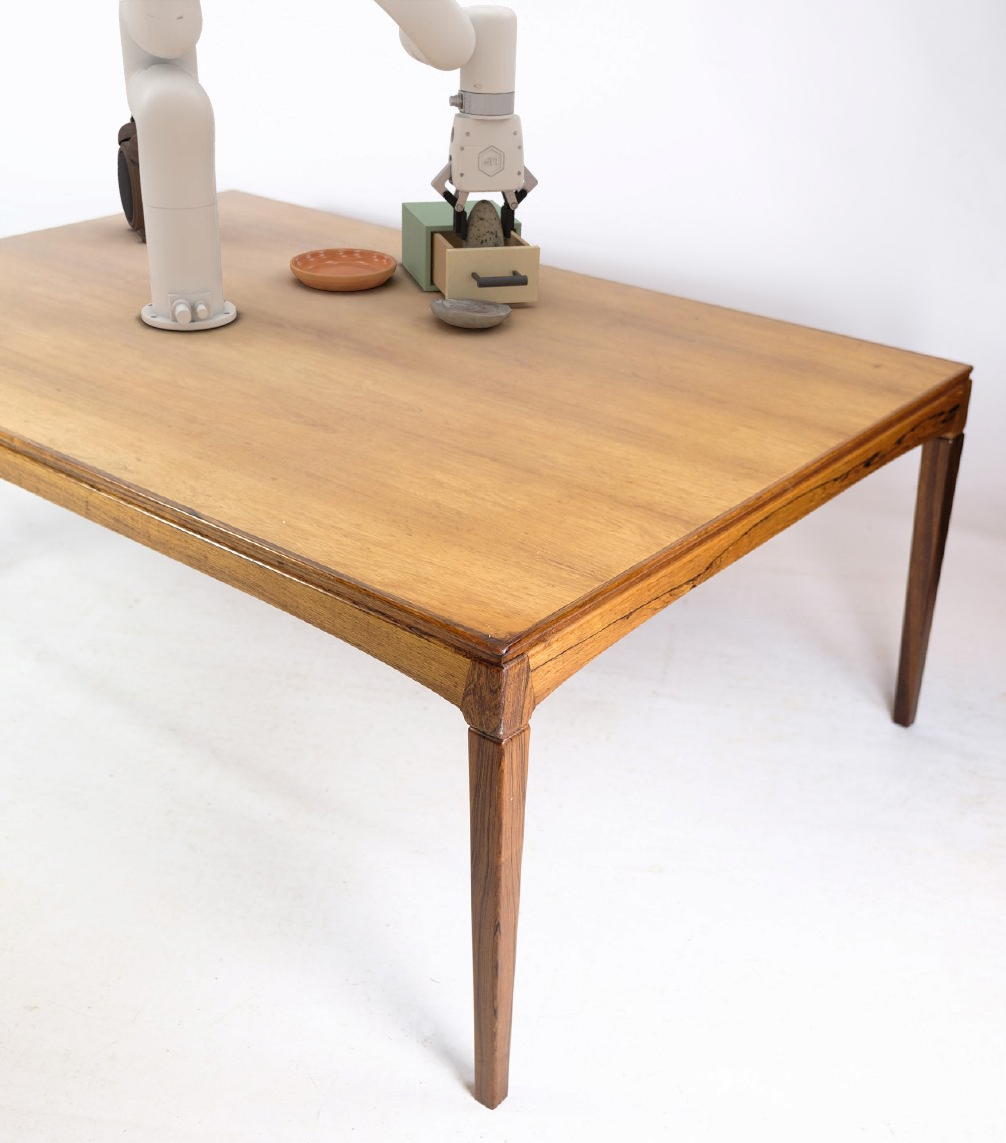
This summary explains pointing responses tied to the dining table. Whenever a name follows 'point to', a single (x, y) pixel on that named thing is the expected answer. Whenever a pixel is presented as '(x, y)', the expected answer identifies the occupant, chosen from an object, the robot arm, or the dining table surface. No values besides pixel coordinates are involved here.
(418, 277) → the cabinet
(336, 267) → the saucer
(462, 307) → the fossil
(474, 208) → the decorative egg
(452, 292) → the drawer
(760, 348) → the dining table surface
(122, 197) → the alarm clock
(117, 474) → the dining table surface
